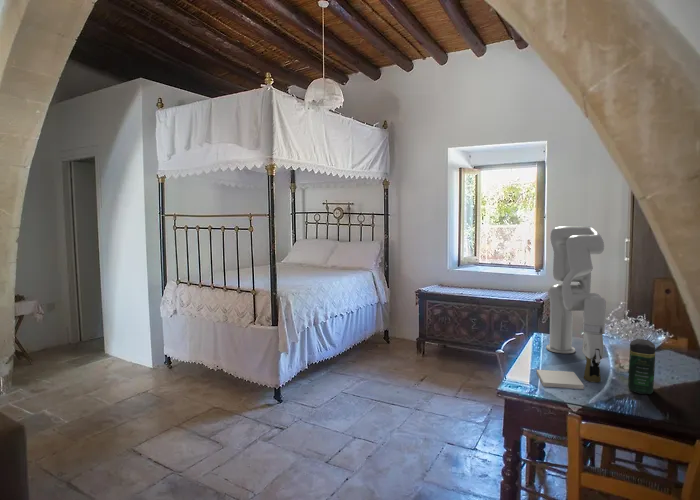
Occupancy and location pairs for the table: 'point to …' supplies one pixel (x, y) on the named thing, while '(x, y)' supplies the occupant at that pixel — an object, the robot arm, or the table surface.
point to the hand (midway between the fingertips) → (592, 373)
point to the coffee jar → (641, 366)
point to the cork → (587, 372)
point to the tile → (559, 379)
